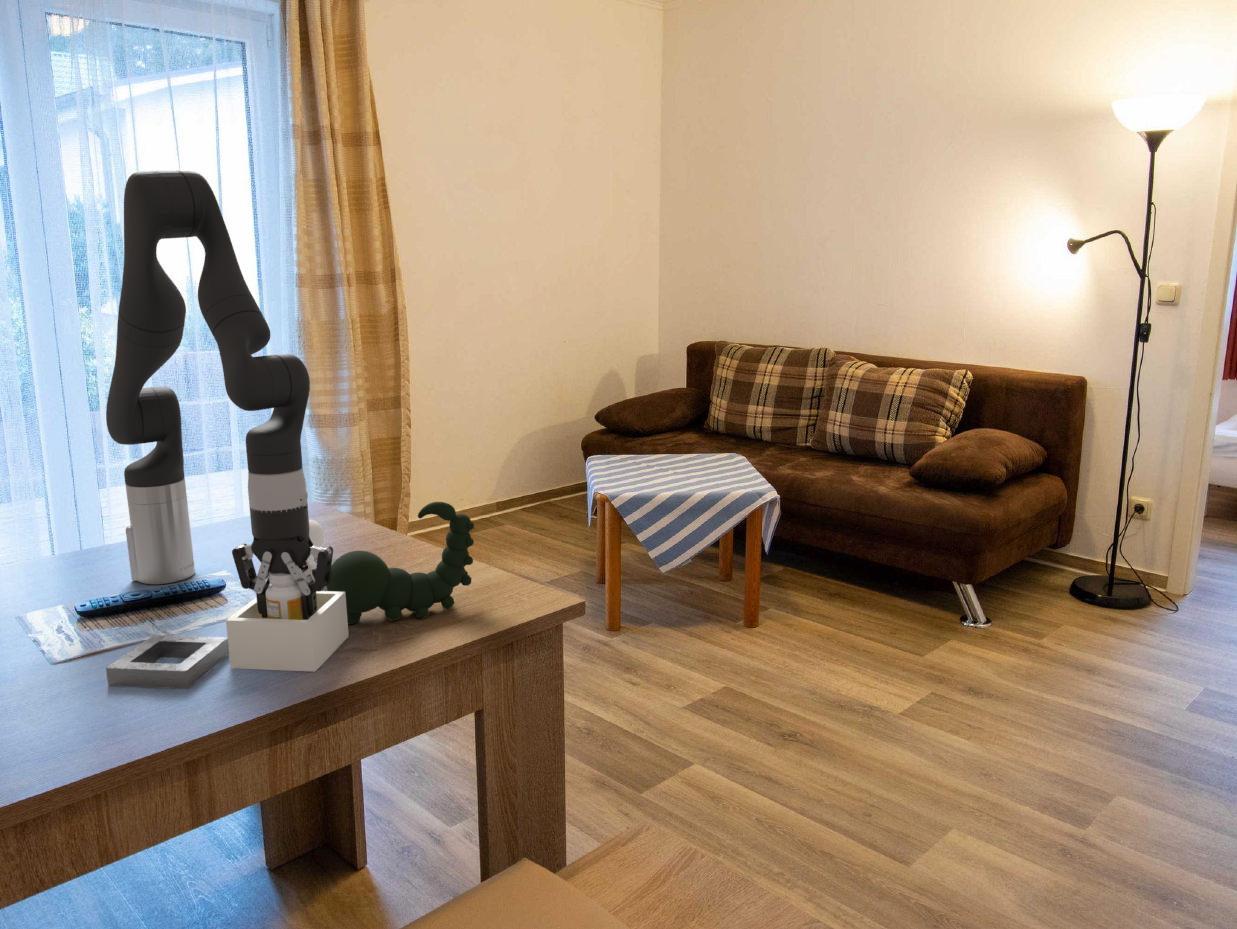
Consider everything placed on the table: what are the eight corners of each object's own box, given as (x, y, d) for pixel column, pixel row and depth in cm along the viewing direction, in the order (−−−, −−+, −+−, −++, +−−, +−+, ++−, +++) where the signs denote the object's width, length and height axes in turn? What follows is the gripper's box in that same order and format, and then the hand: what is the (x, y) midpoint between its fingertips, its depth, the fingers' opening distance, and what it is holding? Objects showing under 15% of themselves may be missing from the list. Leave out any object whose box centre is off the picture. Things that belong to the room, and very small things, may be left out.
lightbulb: (333, 574, 167) (329, 514, 165) (319, 587, 161) (314, 525, 158) (299, 573, 168) (294, 513, 165) (283, 586, 161) (277, 524, 159)
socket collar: (108, 685, 125) (106, 668, 124) (156, 651, 136) (154, 634, 135) (187, 688, 124) (185, 671, 123) (229, 654, 134) (228, 637, 134)
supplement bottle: (311, 627, 138) (306, 564, 135) (307, 642, 133) (301, 576, 130) (272, 630, 137) (267, 566, 134) (266, 645, 132) (260, 579, 129)
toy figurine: (461, 606, 157) (302, 614, 148) (467, 494, 153) (304, 495, 144) (474, 626, 148) (305, 636, 139) (480, 508, 145) (308, 511, 135)
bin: (230, 668, 130) (225, 620, 128) (270, 633, 141) (266, 589, 140) (315, 671, 129) (311, 623, 127) (348, 636, 140) (345, 591, 139)
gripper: (214, 507, 127) (226, 625, 131) (317, 509, 126) (326, 629, 130) (241, 493, 135) (252, 605, 138) (339, 495, 133) (347, 608, 137)
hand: (288, 616), depth 134 cm, fingers closed on supplement bottle, 5 cm apart
